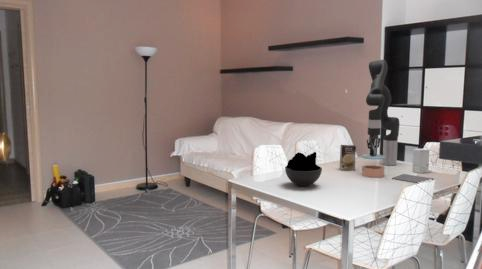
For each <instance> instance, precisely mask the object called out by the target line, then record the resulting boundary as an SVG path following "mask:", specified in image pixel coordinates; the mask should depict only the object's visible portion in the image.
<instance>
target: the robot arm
mask: <svg viewBox="0 0 482 269" xmlns="http://www.w3.org/2000/svg"><path fill="white" fill-rule="evenodd" d="M368 70H369V73H370V77H371V81H372V82H371V84H370V90H369V92H368V94H367V96H366V99H365V103H366V105H367V106H369V107H372V106H373V107H377V108H376V109H370V110H369V111H368V121H367V135H369V137H368V139H366V145H367V149H369V154H370V155H371V156H373V155H374V147H375V148H376V155H377V153H378V149H379V147H380V143H381V141H382V140H381V137H379V136H380V135H381V131H382V130H381V129H383V130H385V131H390V132H389V134H385V135H384V136H383V144H382V155H384V156H385V159H382V165H385V166H397V164H398V163H397V161H398V160H397V159H398V141H399V140H398V139H399V135H400V134H399V133H400V119H399V118H398V117H396V116H389V115H388V110H389V108H390V104H392V95H391V91H390V89H389V88H388V87H387V86H386V85H385V84H384V82H385V79H386V76H387V74H388V63H387V60H385V59H379V60H373V61H370V62H369V63H368Z"/></svg>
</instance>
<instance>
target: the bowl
mask: <svg viewBox="0 0 482 269" xmlns="http://www.w3.org/2000/svg"><path fill="white" fill-rule="evenodd" d="M361 175H362V176H363V175H364V176H363V177H367V178H382V176H383V177H384V176H385V167H383V166H380V165H374V164H372V165H370V164H369V165H367V164H366V165H363V166H361Z"/></svg>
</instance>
